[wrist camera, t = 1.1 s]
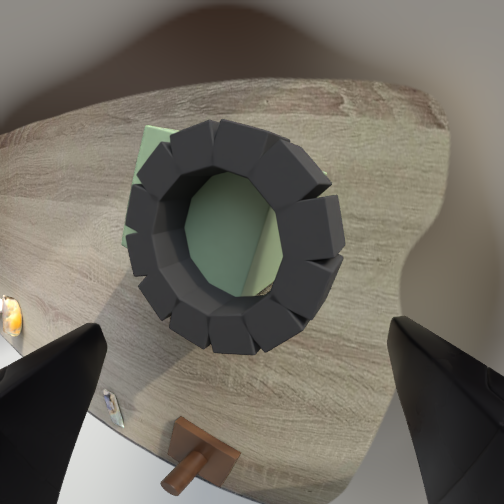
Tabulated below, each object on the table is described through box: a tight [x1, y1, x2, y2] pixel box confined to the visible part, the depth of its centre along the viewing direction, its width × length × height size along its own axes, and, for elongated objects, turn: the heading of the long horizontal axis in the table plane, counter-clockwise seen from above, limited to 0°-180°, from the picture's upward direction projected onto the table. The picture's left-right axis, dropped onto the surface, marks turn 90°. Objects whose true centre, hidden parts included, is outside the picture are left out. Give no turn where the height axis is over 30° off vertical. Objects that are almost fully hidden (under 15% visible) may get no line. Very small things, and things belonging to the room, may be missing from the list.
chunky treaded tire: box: [125, 119, 345, 355], centre depth 13 cm, size 9×9×2 cm
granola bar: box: [103, 388, 124, 428], centre depth 37 cm, size 7×2×1 cm, turn 1°
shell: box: [2, 295, 22, 337], centre depth 46 cm, size 8×4×5 cm, turn 4°
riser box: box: [122, 125, 327, 297], centre depth 19 cm, size 8×7×9 cm
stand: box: [161, 416, 241, 496], centre depth 29 cm, size 8×8×7 cm
